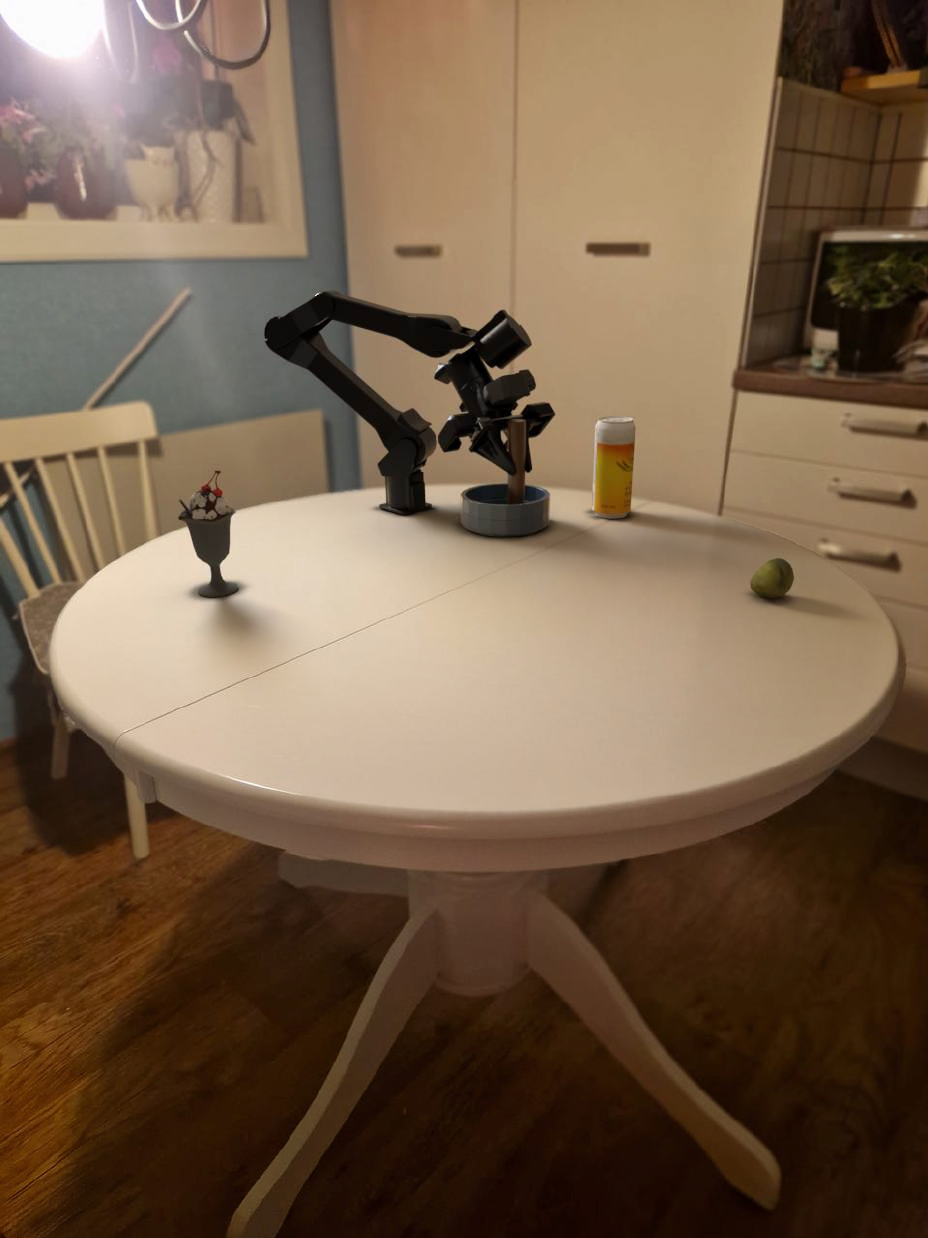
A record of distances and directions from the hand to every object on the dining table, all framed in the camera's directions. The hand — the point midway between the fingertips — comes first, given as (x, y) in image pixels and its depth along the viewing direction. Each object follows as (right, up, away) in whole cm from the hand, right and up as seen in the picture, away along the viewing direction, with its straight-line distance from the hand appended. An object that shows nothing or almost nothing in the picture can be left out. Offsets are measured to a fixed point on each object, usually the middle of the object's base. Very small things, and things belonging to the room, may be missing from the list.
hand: (522, 472), depth 127 cm
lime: (+28, -19, -24) cm, 41 cm away
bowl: (-2, -7, +6) cm, 9 cm away
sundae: (-40, -18, -18) cm, 47 cm away
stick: (-1, -7, +4) cm, 8 cm away
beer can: (+15, -5, +11) cm, 19 cm away
